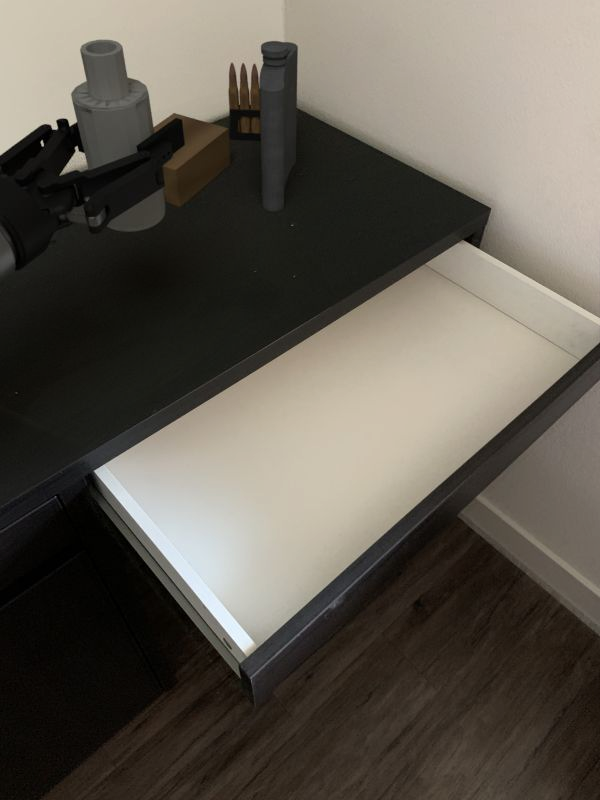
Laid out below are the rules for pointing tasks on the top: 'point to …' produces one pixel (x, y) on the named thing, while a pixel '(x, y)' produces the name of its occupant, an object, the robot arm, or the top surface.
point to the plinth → (194, 159)
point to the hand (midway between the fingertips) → (149, 122)
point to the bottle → (115, 122)
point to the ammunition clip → (244, 105)
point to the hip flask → (277, 119)
